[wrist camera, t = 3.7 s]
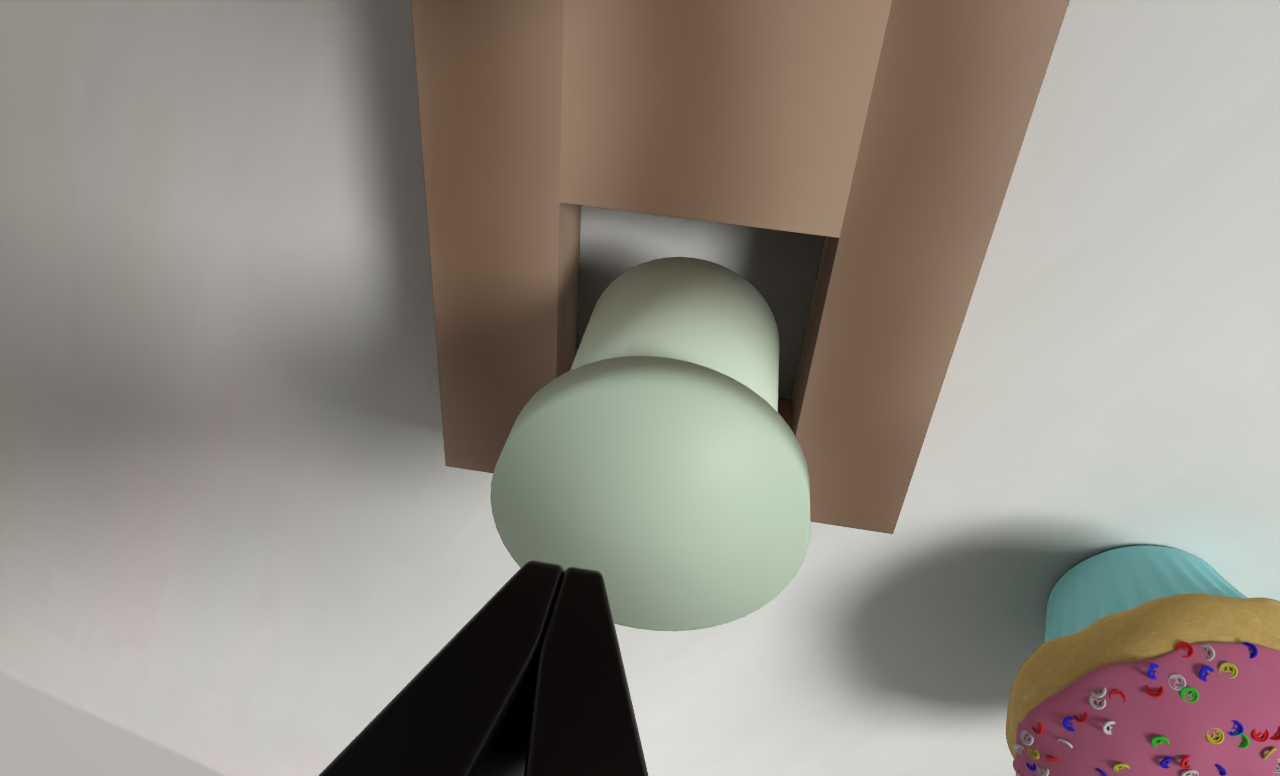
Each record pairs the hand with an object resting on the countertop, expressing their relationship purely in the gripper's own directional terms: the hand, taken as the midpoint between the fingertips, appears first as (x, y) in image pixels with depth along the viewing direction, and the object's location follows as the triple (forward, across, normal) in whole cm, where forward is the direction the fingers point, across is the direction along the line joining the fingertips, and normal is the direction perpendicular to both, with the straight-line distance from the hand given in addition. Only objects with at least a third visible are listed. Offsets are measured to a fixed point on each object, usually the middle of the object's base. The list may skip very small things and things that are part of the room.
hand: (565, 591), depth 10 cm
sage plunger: (+11, -1, +3) cm, 11 cm away
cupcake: (+13, -15, +11) cm, 23 cm away
